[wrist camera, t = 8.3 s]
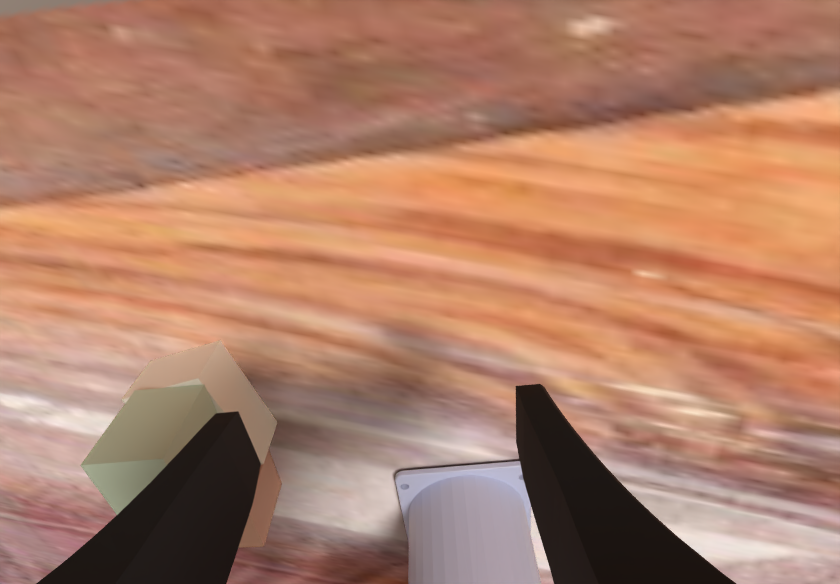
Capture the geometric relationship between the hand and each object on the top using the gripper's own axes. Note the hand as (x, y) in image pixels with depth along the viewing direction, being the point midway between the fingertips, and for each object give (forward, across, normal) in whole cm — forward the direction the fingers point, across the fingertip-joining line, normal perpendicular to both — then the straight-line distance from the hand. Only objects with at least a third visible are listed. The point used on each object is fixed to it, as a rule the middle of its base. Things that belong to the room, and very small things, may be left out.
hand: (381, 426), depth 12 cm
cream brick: (+10, +10, +7) cm, 16 cm away
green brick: (+7, +11, +7) cm, 15 cm away
